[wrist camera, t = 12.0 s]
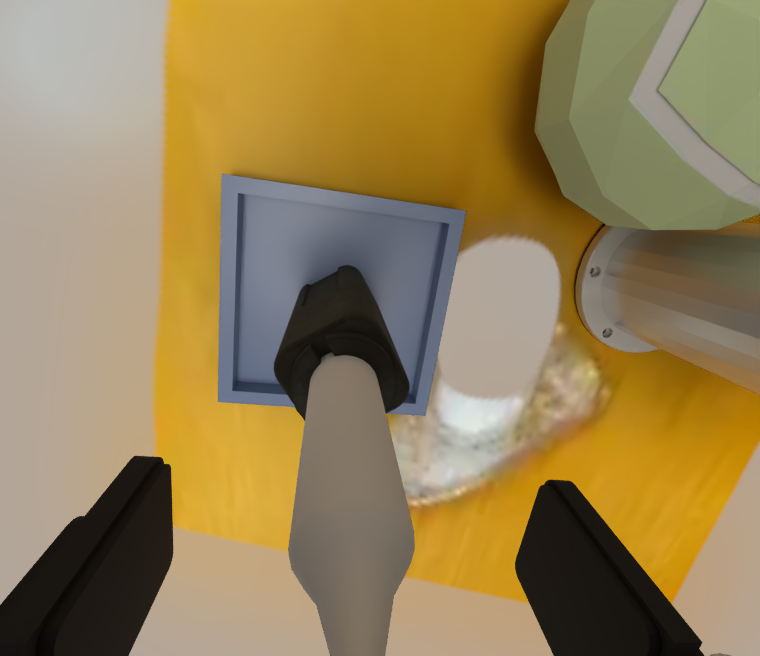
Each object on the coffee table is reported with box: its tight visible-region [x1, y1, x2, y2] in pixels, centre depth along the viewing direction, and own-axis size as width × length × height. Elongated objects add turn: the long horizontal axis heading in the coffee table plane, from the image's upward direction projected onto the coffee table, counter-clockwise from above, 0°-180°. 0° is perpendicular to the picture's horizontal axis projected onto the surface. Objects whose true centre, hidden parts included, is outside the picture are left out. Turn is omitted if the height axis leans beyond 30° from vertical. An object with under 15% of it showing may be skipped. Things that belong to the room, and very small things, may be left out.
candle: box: [274, 265, 414, 656], centre depth 17 cm, size 5×5×25 cm
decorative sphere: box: [534, 0, 760, 230], centre depth 20 cm, size 15×15×15 cm
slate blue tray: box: [218, 174, 466, 416], centre depth 29 cm, size 16×16×2 cm
